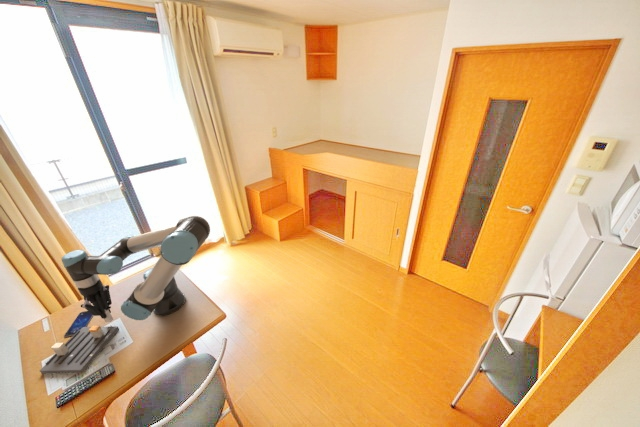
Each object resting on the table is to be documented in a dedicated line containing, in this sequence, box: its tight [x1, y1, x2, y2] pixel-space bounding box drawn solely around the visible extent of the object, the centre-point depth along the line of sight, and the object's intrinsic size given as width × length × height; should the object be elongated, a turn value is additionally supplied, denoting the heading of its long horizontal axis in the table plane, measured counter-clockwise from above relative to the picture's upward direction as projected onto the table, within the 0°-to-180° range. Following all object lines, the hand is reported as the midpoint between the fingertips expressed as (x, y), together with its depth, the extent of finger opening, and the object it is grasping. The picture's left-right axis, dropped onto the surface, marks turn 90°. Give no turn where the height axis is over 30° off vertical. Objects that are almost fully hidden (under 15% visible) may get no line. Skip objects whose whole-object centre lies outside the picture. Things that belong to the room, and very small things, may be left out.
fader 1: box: [50, 342, 69, 356], centre depth 100 cm, size 3×2×5 cm
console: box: [39, 326, 119, 375], centre depth 104 cm, size 16×20×3 cm
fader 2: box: [89, 325, 104, 338], centre depth 107 cm, size 3×2×5 cm
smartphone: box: [63, 310, 95, 338], centre depth 117 cm, size 7×1×15 cm
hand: (109, 320), depth 114 cm, fingers closed
